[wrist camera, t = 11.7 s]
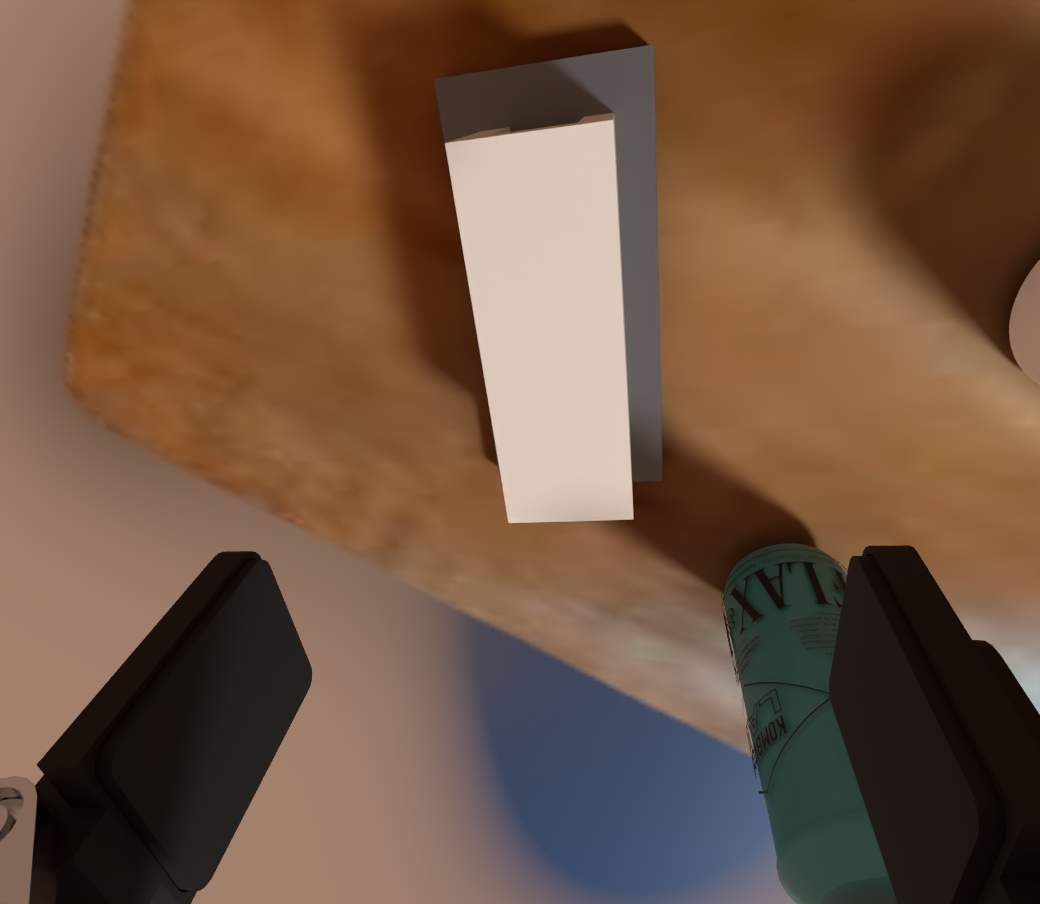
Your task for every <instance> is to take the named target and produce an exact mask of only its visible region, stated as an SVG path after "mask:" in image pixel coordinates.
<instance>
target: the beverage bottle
mask: <svg viewBox="0 0 1040 904" xmlns="http://www.w3.org/2000/svg"><path fill="white" fill-rule="evenodd" d="M837 562H838V561H837ZM837 562H836V560H835V559H833V558H831V557H830V556H829V555H827V554H826V553H824V552H823V551H821V550H819V549H817V548H814V547H811V546H807V545H802V544H791V543H789V544H777V545H772V546H768V547H764V548H762V549H759V550H757V551H754V552H752V553H751V554H749V555H747V556H746V557H744V558H743V559H742V560H740V561H739V562H738V563H737V564H736V565H735V567H734V568H733V569H732V570H731V572H730V574H729V575H728V578H727V580H726V584H725V586H724V587H725V589H724V588H723V589H724V598H723V600H724V605H725V610H726V615H727V619H725V618H726V617H725V614H724V613H723V614H724V620H725V625H726V630H727V636H728V642H729V647H730V650H731V656H732V655H733V651H732V649H731V644H730V639H729V634H730V636H731V639H732V644H733V649H734V654H735V659H736V666H737V667H734V669H735V668H737V669H738V670H737V671H738V673H739V678H738V679H739V680H740V683H741V688H742V693H743V698H744V703H745V708H746V712H747V717H748V719H747V724H748V722H749V725H748V727H749V729H750V732H751V737H752V742H753V747H754V749H752V754H751V755H752V756H753V754H754V753H755V756H754V758H752V760H754V759H755V757H756V764H757V766H758V771H759V775H760V781H761V786H762V790H763V791H759V794H762V793H763V794H764V798H765V801H766V805H767V810H768V815H769V820H770V825H771V830H772V835H773V840H774V845H775V850H776V855H777V870H778V875H779V880H780V882H781V884H782V886H783V888H784V890H785V891H786V893H787V894H788V895H789V896H790V897H791V898H792V900H793V901H795V902H796V903H797V904H898V903H897V900H896V897H895V894H894V891H893V888H892V885H891V882H890V879H889V876H888V873H887V870H886V867H885V864H884V861H883V858H882V855H881V852H880V849H879V846H878V843H877V840H876V837H875V834H874V831H873V828H872V825H871V822H870V819H869V816H868V813H867V810H866V807H865V804H864V801H863V798H862V795H861V792H860V789H859V786H858V783H857V780H856V777H855V774H854V771H853V768H852V765H851V762H850V759H849V756H848V753H847V750H846V747H845V744H844V741H843V738H842V735H841V732H840V729H839V726H838V723H837V720H836V717H835V714H834V711H833V708H832V704H831V700H830V693H829V679H830V673H831V667H832V661H833V656H834V650H835V644H836V638H837V632H838V626H839V620H840V614H841V609H842V603H843V597H844V591H845V585H846V579H847V575H846V573H845V571H844V570H843V569H842V567H841V566H840V565H839V564H838V563H839V562H838V563H837ZM843 567H844V566H843ZM844 568H845V567H844ZM845 569H846V568H845ZM846 571H847V570H846ZM847 573H848V572H847ZM722 593H723V591H722ZM721 598H722V595H721ZM722 603H723V602H722ZM722 605H723V604H722ZM722 605H721V606H722ZM722 611H723V608H722ZM726 620H727V621H728V624H726ZM728 625H729V626H728ZM727 626H728V627H729V630H730V633H729V631H728V629H727ZM732 661H733V660H732ZM734 662H735V660H734ZM733 665H734V664H733ZM735 672H736V669H735ZM738 673H735V675H736V674H738ZM736 677H738V676H736ZM736 680H737V679H736ZM739 680H738V681H739ZM737 687H738V686H737ZM743 715H744V714H743ZM746 730H748V728H747V725H746ZM748 735H749V733H748V734H747V736H748ZM748 738H749V737H748ZM749 739H750V738H749ZM749 739H748V742H749ZM750 744H751V743H750ZM750 744H749V745H750ZM751 746H752V745H751ZM753 747H752V748H753ZM753 750H754V751H755V752H754V751H753ZM750 752H751V748H750ZM752 756H751V757H752ZM752 762H753V761H752ZM754 766H755V764H754ZM754 766H753V767H754ZM754 769H756V766H755V768H754Z"/></svg>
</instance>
